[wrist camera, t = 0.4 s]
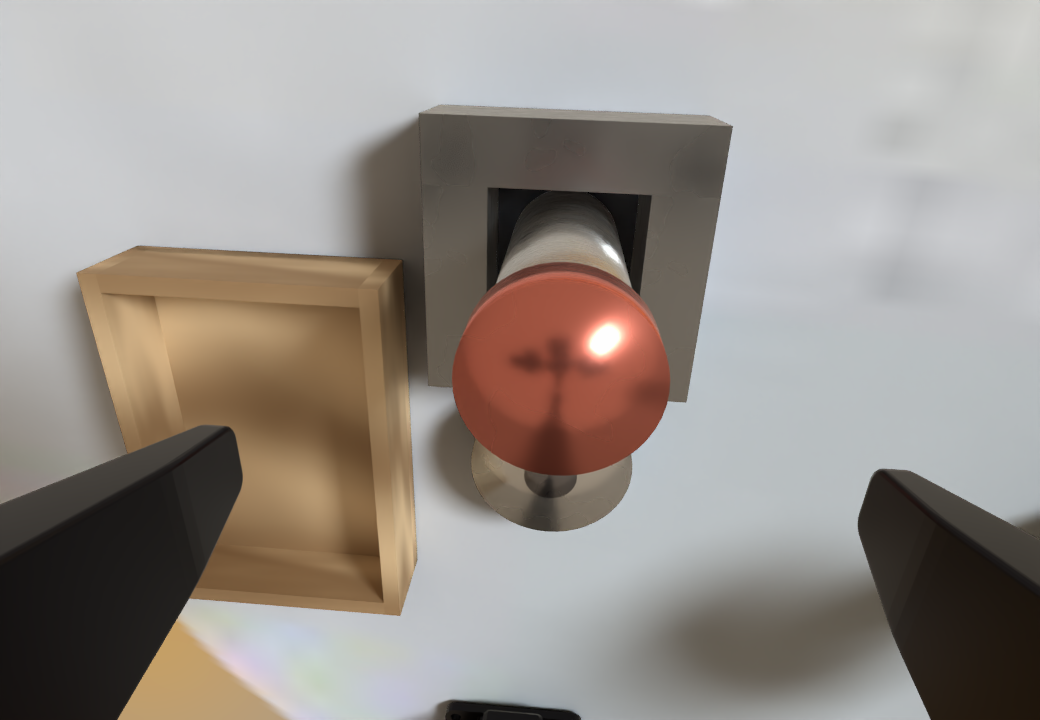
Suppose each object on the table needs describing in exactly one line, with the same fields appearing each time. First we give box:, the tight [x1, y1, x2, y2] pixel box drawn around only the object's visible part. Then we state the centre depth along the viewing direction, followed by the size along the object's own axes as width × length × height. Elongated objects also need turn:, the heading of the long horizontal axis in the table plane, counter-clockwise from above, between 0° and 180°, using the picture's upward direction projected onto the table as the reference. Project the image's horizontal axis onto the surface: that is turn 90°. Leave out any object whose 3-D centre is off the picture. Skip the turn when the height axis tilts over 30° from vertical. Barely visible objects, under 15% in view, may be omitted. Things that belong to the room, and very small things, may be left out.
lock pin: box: [452, 190, 670, 476], centre depth 16 cm, size 4×4×10 cm
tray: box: [77, 246, 417, 616], centre depth 23 cm, size 13×9×3 cm
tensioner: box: [419, 105, 733, 531], centre depth 21 cm, size 14×8×3 cm, turn 178°
